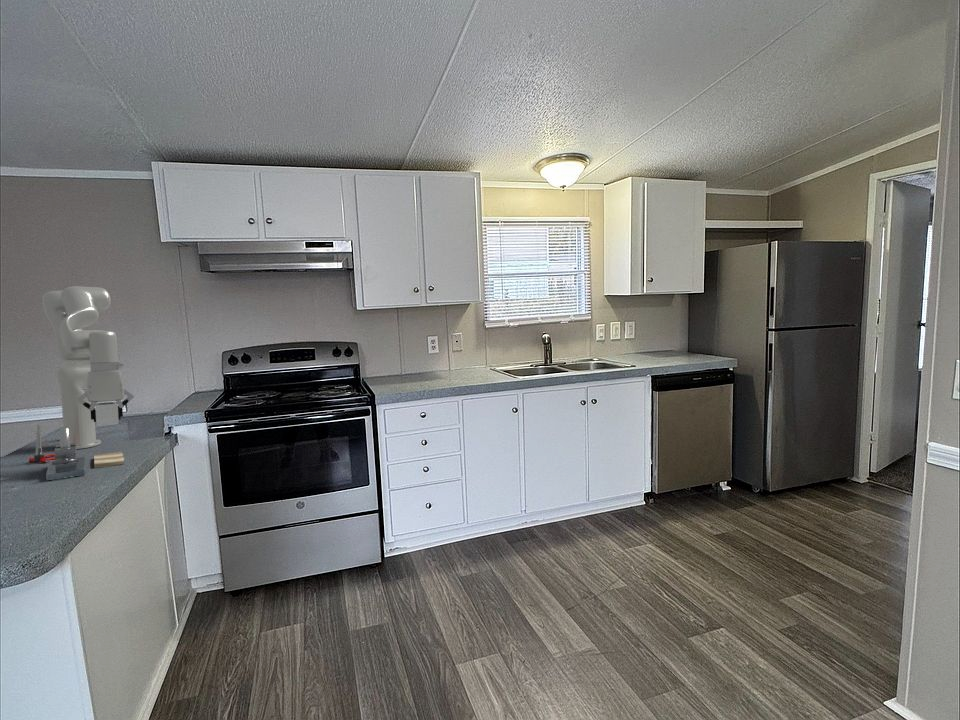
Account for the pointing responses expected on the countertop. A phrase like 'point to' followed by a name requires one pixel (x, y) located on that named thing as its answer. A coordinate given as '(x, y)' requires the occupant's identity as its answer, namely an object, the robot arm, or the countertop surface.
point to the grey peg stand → (65, 459)
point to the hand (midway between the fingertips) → (107, 419)
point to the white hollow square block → (106, 413)
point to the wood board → (108, 459)
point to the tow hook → (40, 449)
